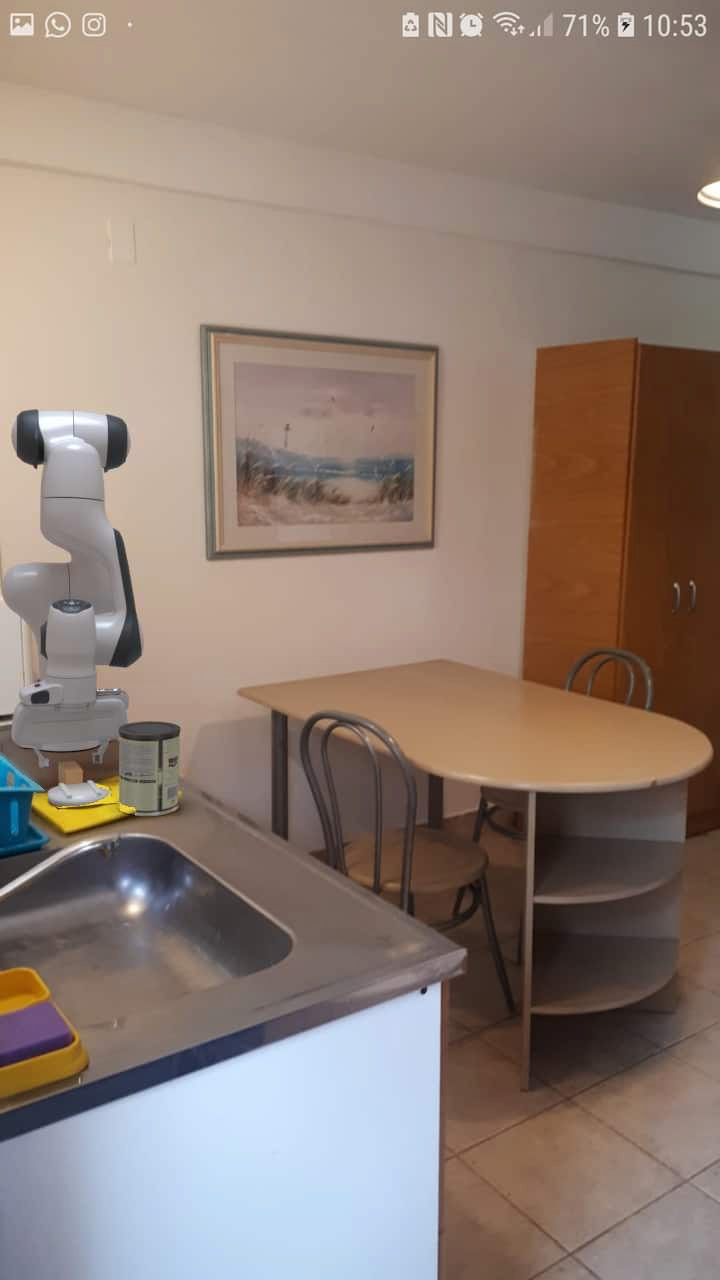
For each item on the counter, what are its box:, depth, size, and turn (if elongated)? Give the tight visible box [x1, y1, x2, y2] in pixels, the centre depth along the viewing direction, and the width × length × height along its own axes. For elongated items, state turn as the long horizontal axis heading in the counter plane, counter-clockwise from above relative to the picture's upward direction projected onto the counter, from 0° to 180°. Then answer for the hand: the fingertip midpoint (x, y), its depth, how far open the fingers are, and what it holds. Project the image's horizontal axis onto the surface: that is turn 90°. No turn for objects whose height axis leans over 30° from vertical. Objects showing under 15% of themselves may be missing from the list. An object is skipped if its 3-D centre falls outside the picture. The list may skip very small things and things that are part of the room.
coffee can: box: [118, 721, 181, 817], centre depth 162 cm, size 10×10×14 cm
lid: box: [47, 760, 112, 807], centre depth 168 cm, size 17×11×4 cm, turn 27°
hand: (70, 765), depth 173 cm, fingers open, 8 cm apart
